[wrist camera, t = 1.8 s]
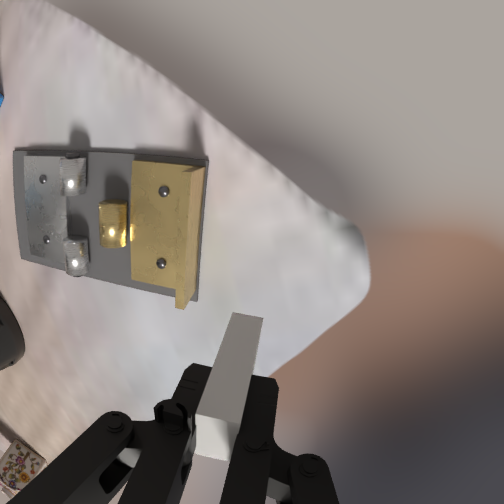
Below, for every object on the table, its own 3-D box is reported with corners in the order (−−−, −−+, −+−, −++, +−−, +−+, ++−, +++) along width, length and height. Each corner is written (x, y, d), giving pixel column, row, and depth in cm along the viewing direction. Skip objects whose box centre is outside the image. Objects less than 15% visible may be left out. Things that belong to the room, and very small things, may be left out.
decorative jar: (50, 472, 65) (27, 512, 49) (21, 452, 65) (-4, 489, 48) (46, 459, 61) (19, 503, 44) (15, 437, 60) (-14, 477, 44)
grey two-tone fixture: (23, 257, 35) (21, 258, 34) (15, 150, 29) (12, 151, 29) (197, 299, 33) (196, 301, 32) (208, 160, 27) (207, 160, 27)
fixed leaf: (35, 255, 34) (20, 264, 31) (28, 150, 29) (11, 154, 26) (95, 270, 33) (81, 282, 30) (92, 151, 28) (75, 155, 25)
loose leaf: (110, 270, 32) (91, 287, 29) (109, 157, 28) (86, 163, 24) (196, 289, 32) (183, 309, 28) (205, 166, 27) (191, 172, 23)
